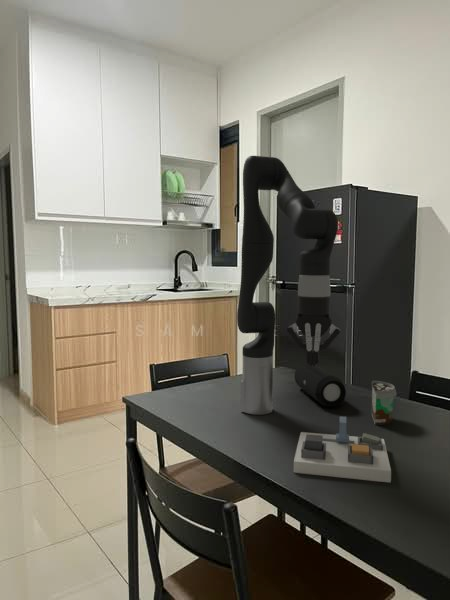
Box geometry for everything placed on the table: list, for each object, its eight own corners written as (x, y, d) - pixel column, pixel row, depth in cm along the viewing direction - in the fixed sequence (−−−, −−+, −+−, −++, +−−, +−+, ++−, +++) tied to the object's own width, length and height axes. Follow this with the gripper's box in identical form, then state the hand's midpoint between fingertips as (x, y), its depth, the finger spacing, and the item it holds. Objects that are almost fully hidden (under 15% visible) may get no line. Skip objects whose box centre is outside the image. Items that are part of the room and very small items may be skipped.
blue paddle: (336, 442, 111) (336, 422, 111) (336, 436, 116) (336, 416, 115) (349, 443, 111) (349, 423, 110) (348, 437, 115) (349, 417, 115)
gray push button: (305, 449, 105) (305, 440, 104) (306, 443, 108) (306, 434, 108) (321, 451, 104) (321, 441, 104) (322, 445, 107) (322, 435, 107)
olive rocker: (362, 441, 110) (363, 436, 110) (362, 437, 112) (363, 432, 112) (378, 446, 109) (379, 441, 109) (377, 441, 112) (378, 437, 111)
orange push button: (351, 460, 102) (351, 450, 102) (351, 453, 106) (351, 444, 106) (369, 461, 101) (369, 451, 101) (368, 455, 105) (368, 445, 105)
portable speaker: (292, 388, 170) (292, 361, 169) (318, 387, 172) (318, 360, 171) (318, 410, 145) (318, 378, 144) (348, 408, 147) (349, 377, 146)
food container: (399, 428, 129) (400, 392, 128) (375, 426, 130) (376, 391, 130) (392, 413, 141) (393, 381, 140) (371, 412, 142) (371, 380, 142)
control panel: (293, 472, 102) (293, 453, 102) (300, 441, 120) (300, 425, 119) (390, 482, 98) (391, 463, 97) (383, 448, 115) (383, 432, 115)
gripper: (284, 294, 110) (283, 368, 111) (342, 296, 107) (341, 371, 108) (287, 292, 117) (287, 361, 119) (342, 293, 114) (341, 364, 116)
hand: (312, 365), depth 113 cm, fingers closed
